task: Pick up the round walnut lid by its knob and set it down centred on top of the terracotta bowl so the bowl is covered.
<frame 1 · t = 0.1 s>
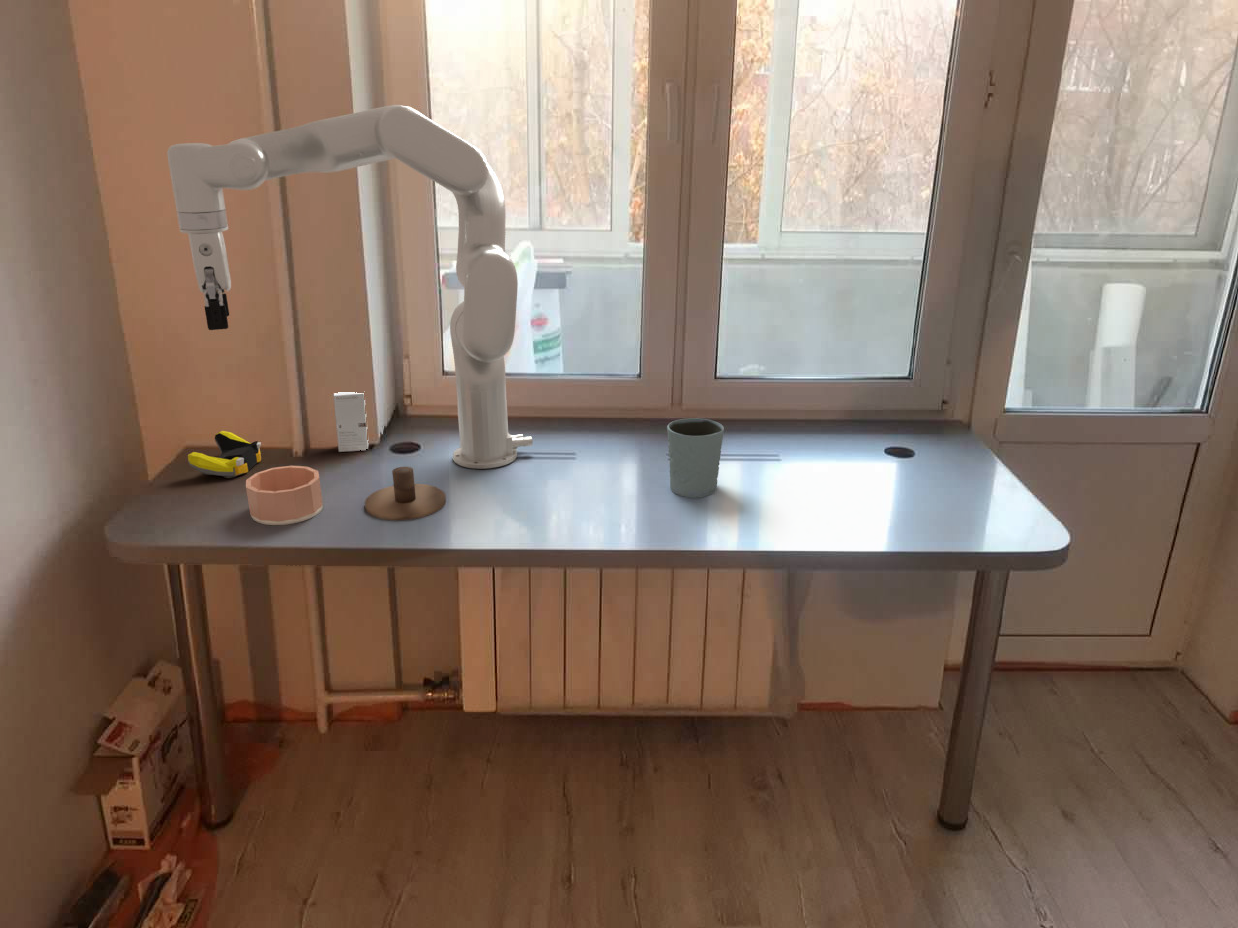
hand: (219, 322, 167), 31 cm above the table, tool pointing down, fingers open, 9 cm apart
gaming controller: (230, 469, 188), on the table
bowl: (287, 510, 170), on the table
grey green cup: (693, 488, 178), on the table
skincare box: (354, 448, 198), on the table
lid: (406, 505, 172), on the table
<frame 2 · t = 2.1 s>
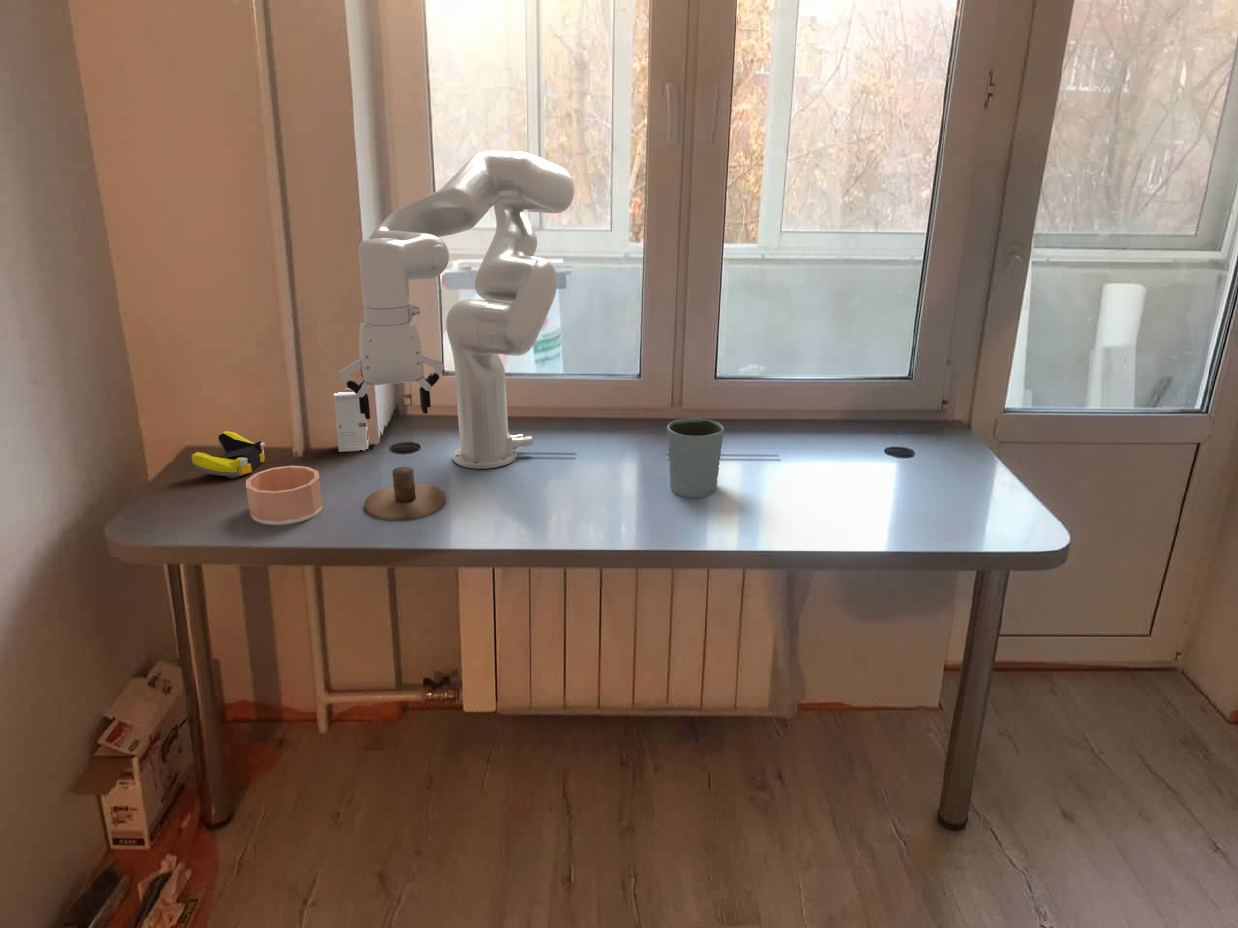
hand: (396, 414, 166), 17 cm above the table, tool pointing down, fingers open, 9 cm apart
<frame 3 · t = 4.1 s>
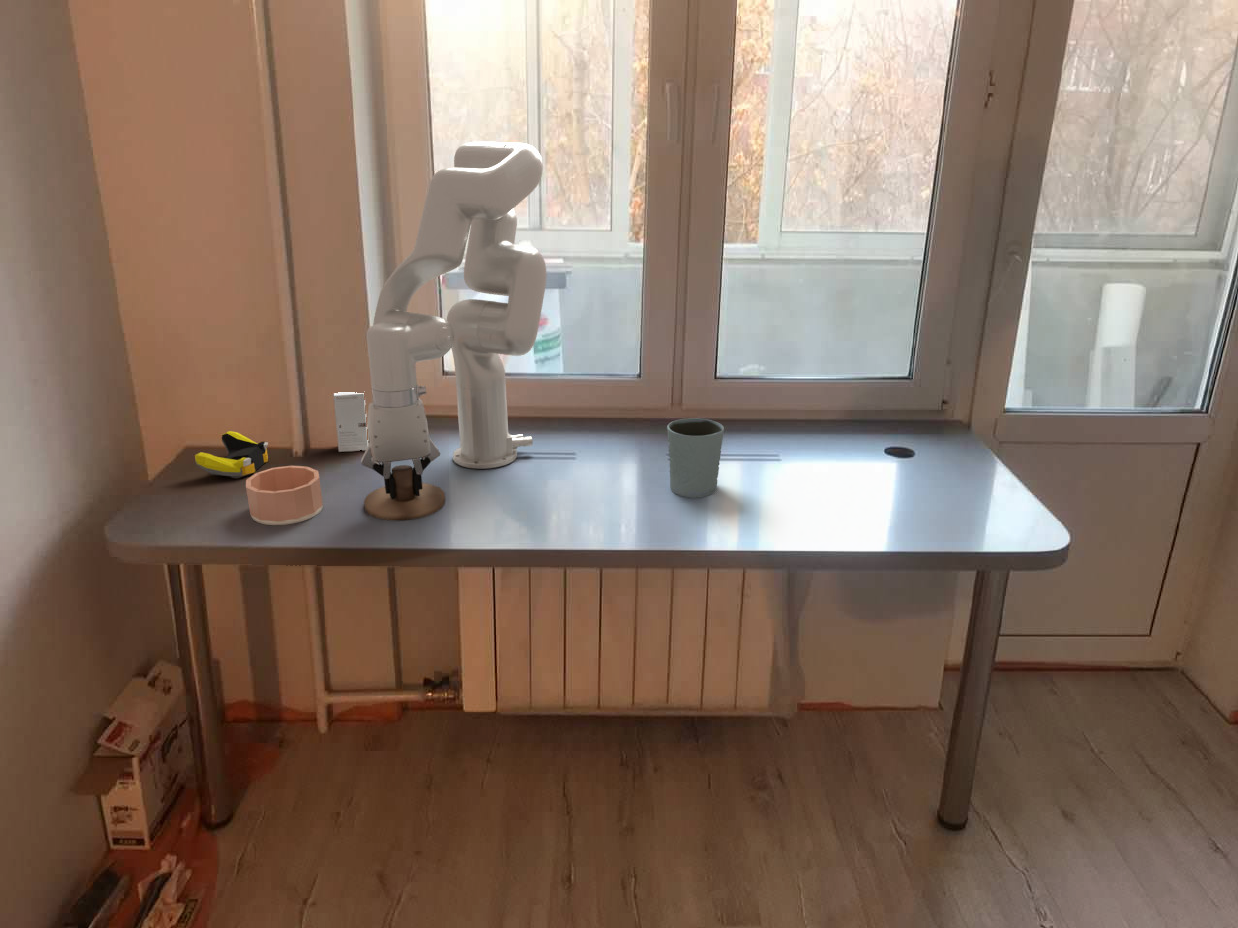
hand: (404, 494, 171), 2 cm above the table, tool pointing down, fingers closed on lid, 3 cm apart
lid: (405, 503, 172), on the table, touching gripper
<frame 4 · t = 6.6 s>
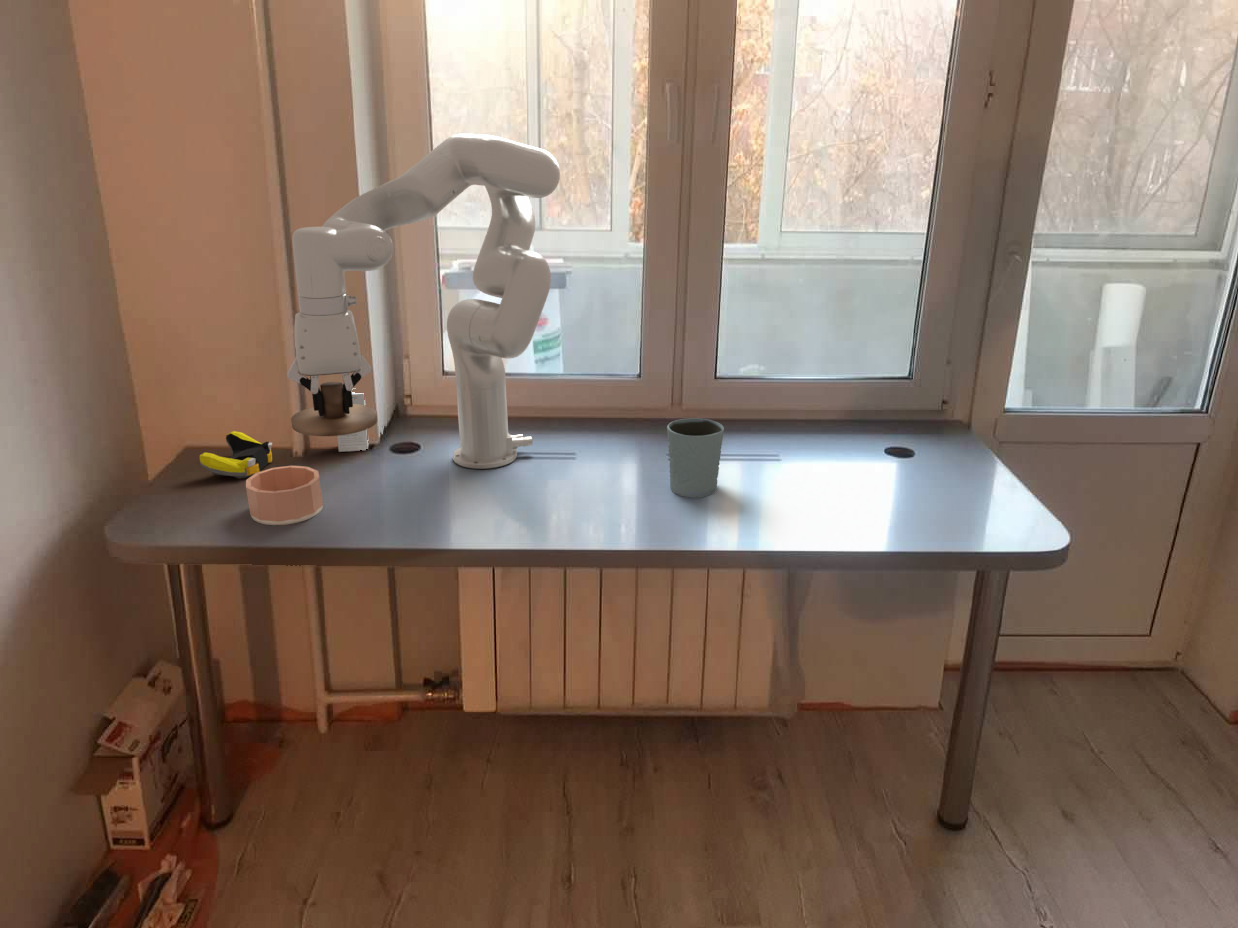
hand: (333, 411, 164), 18 cm above the table, tool pointing down, fingers closed on lid, 3 cm apart
lid: (335, 422, 164), point 16 cm above the table, touching gripper
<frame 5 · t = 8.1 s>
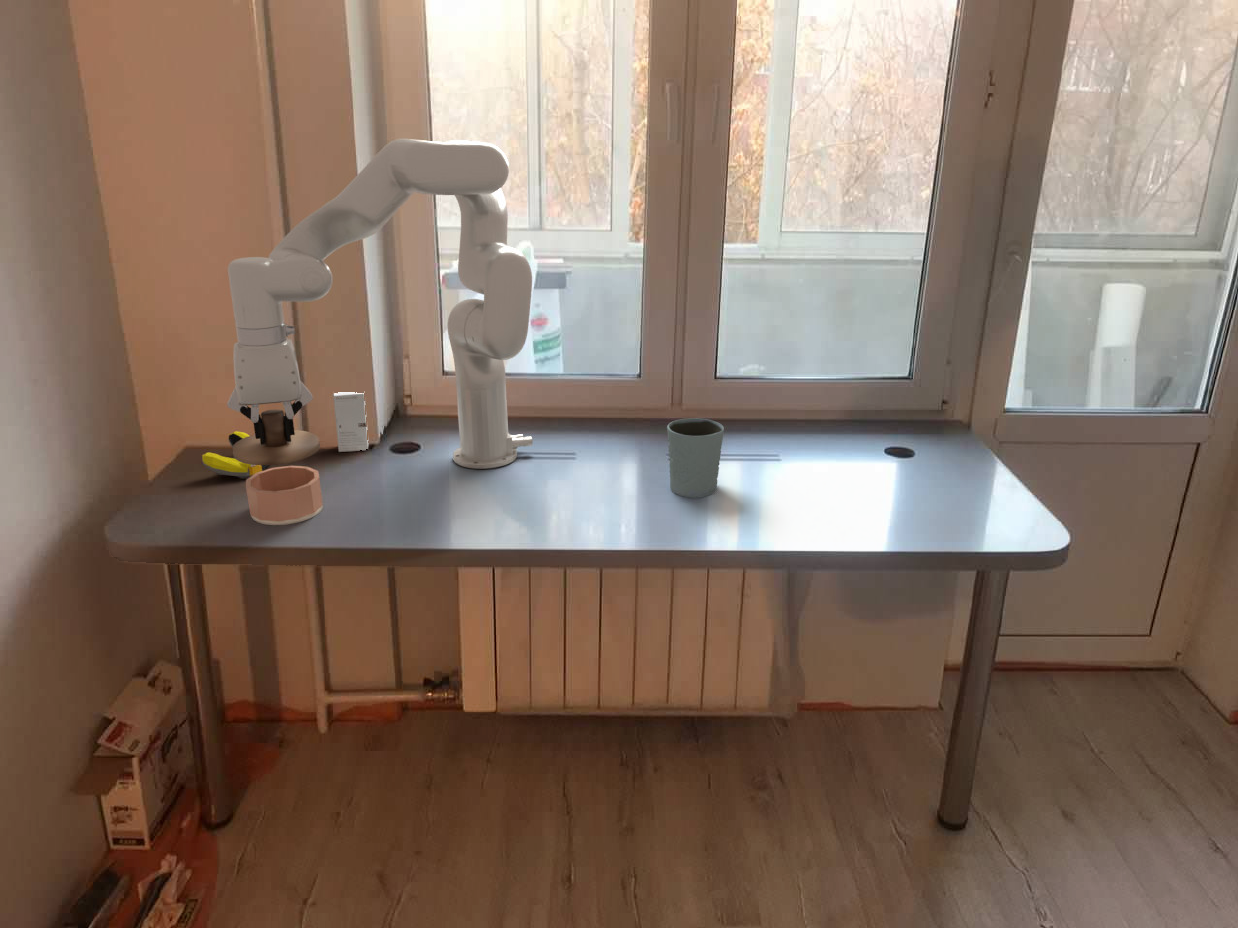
hand: (275, 439, 164), 13 cm above the table, tool pointing down, fingers closed on lid, 3 cm apart
lid: (277, 450, 165), point 11 cm above the table, touching gripper
when the fingers open (9 cm above the table, at t = 9.1 s): lid stays where it is, resting on bowl.
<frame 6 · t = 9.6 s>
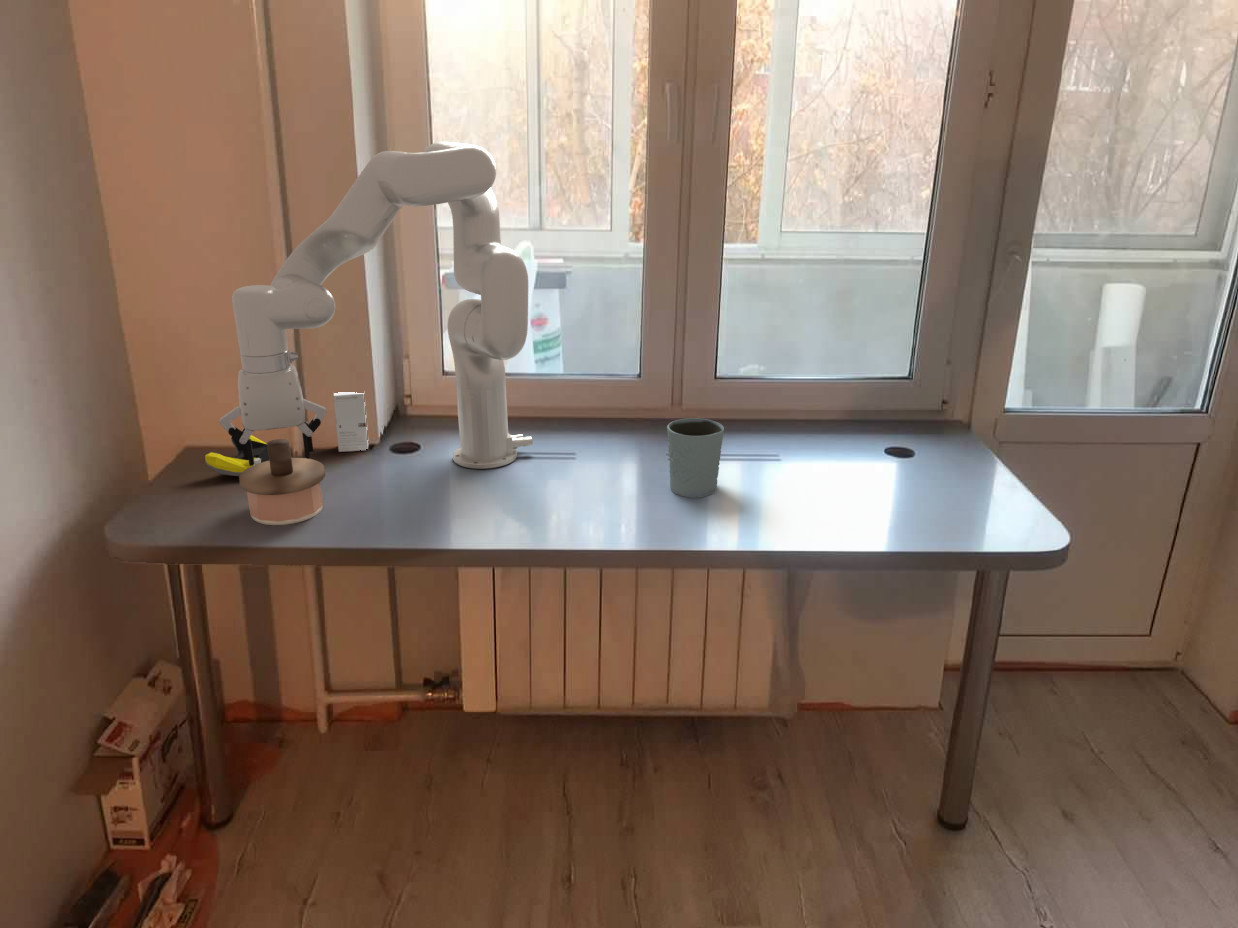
hand: (279, 459, 166), 10 cm above the table, tool pointing down, fingers open, 8 cm apart
lid: (283, 478, 167), point 6 cm above the table, touching bowl
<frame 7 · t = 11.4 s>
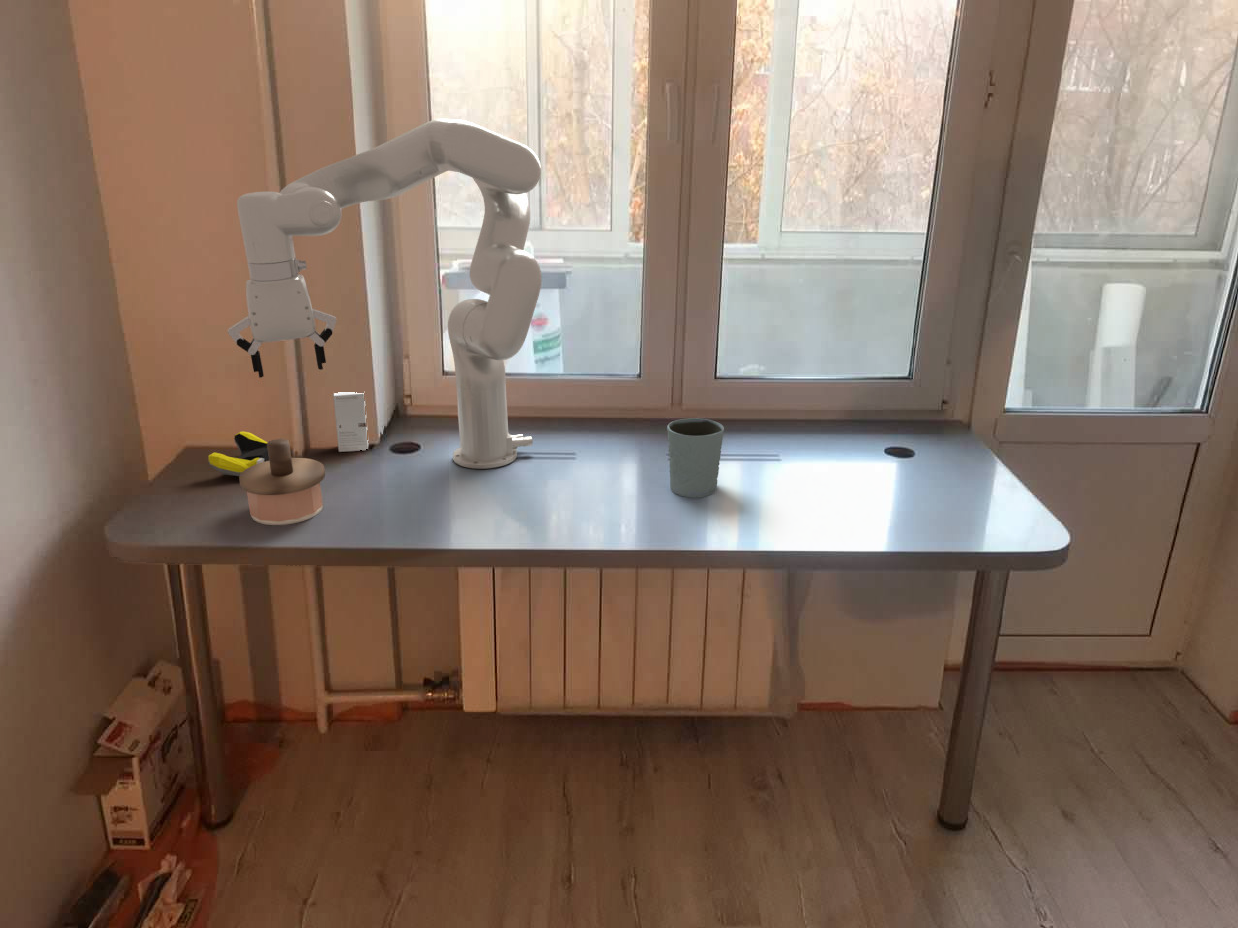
hand: (291, 371, 164), 24 cm above the table, tool pointing down, fingers open, 9 cm apart
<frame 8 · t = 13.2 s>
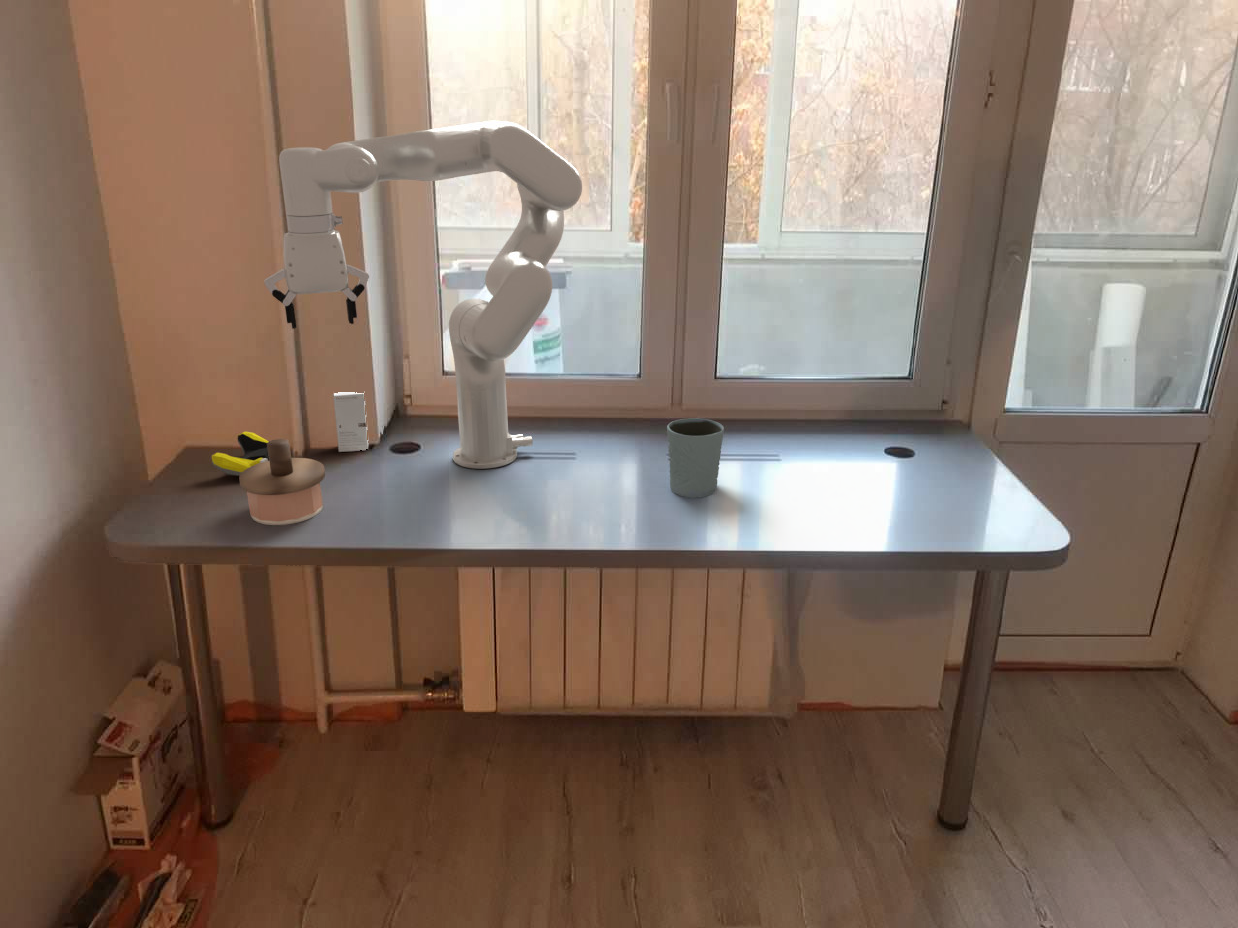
hand: (322, 324, 169), 30 cm above the table, tool pointing down, fingers open, 9 cm apart
at the end: lid 0.1 cm off-centre on the bowl, point 6.0 cm above the bowl's base; lid tilted 0°; the gripper is holding nothing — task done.
